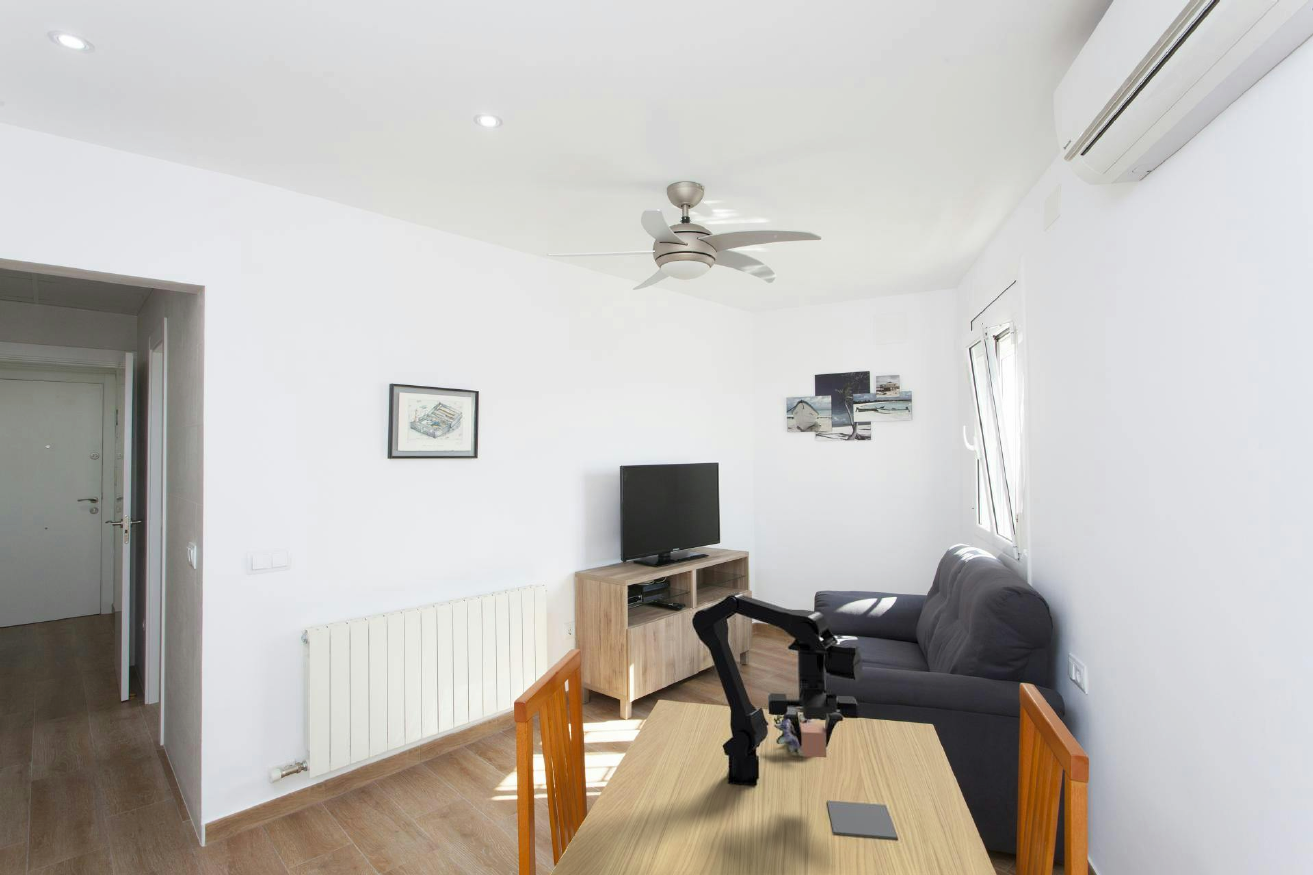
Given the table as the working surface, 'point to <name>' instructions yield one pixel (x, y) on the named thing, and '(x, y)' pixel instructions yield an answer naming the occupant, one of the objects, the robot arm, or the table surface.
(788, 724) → the passion flower
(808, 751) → the cube
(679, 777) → the table surface
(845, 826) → the mat
